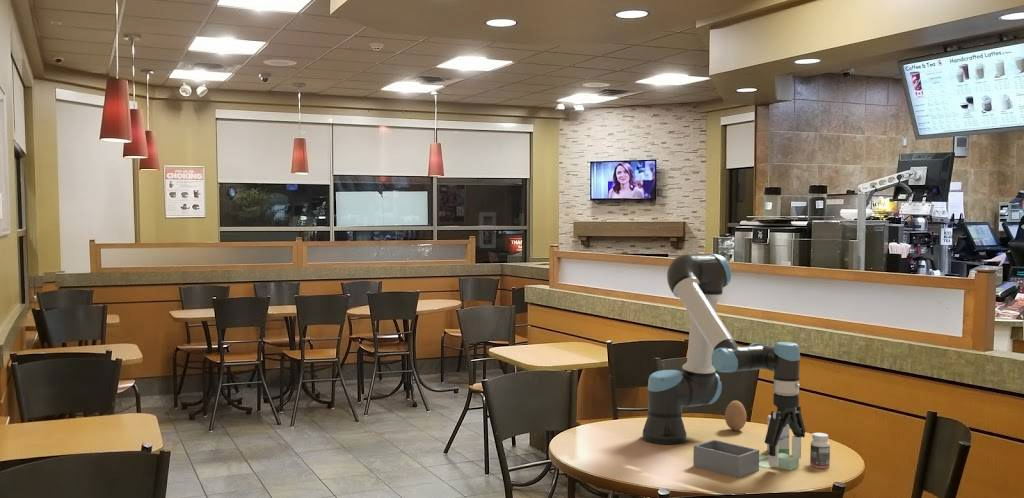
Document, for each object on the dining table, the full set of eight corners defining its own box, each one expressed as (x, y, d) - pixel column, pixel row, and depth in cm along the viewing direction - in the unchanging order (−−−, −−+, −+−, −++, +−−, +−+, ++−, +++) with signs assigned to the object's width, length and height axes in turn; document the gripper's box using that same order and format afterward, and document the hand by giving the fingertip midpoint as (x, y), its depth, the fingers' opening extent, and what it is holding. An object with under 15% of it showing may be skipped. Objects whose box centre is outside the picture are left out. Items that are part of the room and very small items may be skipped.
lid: (719, 459, 271) (720, 447, 271) (739, 453, 279) (739, 440, 279) (784, 475, 255) (784, 462, 254) (804, 467, 262) (804, 454, 262)
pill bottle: (807, 463, 267) (807, 432, 266) (824, 463, 267) (825, 431, 267) (815, 468, 261) (815, 437, 261) (832, 468, 262) (833, 436, 261)
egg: (742, 427, 312) (742, 398, 311) (749, 432, 304) (749, 402, 304) (722, 427, 311) (722, 398, 311) (728, 433, 304) (728, 402, 303)
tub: (693, 468, 261) (693, 445, 261) (713, 461, 268) (714, 439, 268) (739, 480, 249) (739, 456, 249) (758, 472, 257) (759, 449, 256)
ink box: (789, 457, 274) (790, 421, 273) (774, 457, 274) (775, 421, 273) (781, 450, 282) (781, 414, 282) (766, 449, 282) (767, 414, 282)
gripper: (776, 401, 249) (775, 472, 249) (817, 389, 266) (816, 456, 266) (753, 397, 254) (752, 467, 255) (795, 385, 271) (794, 451, 272)
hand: (785, 461), depth 261 cm, fingers open, 13 cm apart
